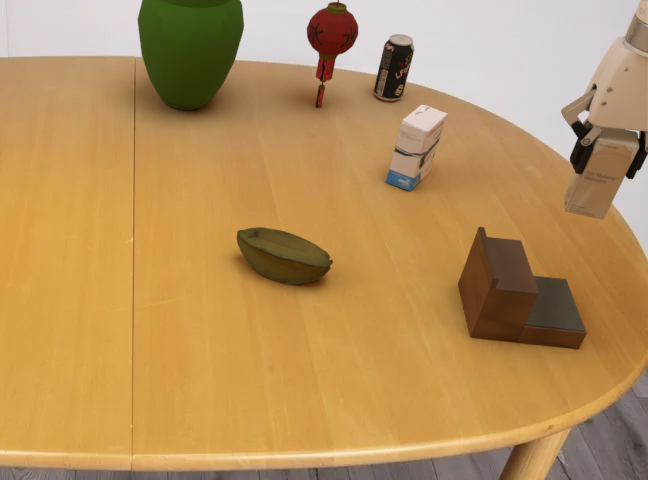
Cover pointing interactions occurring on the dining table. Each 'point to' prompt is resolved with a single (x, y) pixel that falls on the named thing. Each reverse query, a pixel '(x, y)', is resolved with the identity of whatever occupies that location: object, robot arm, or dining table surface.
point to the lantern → (330, 39)
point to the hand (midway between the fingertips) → (601, 169)
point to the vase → (189, 47)
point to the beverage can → (394, 67)
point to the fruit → (283, 255)
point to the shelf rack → (516, 297)
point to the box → (602, 173)
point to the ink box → (416, 147)
